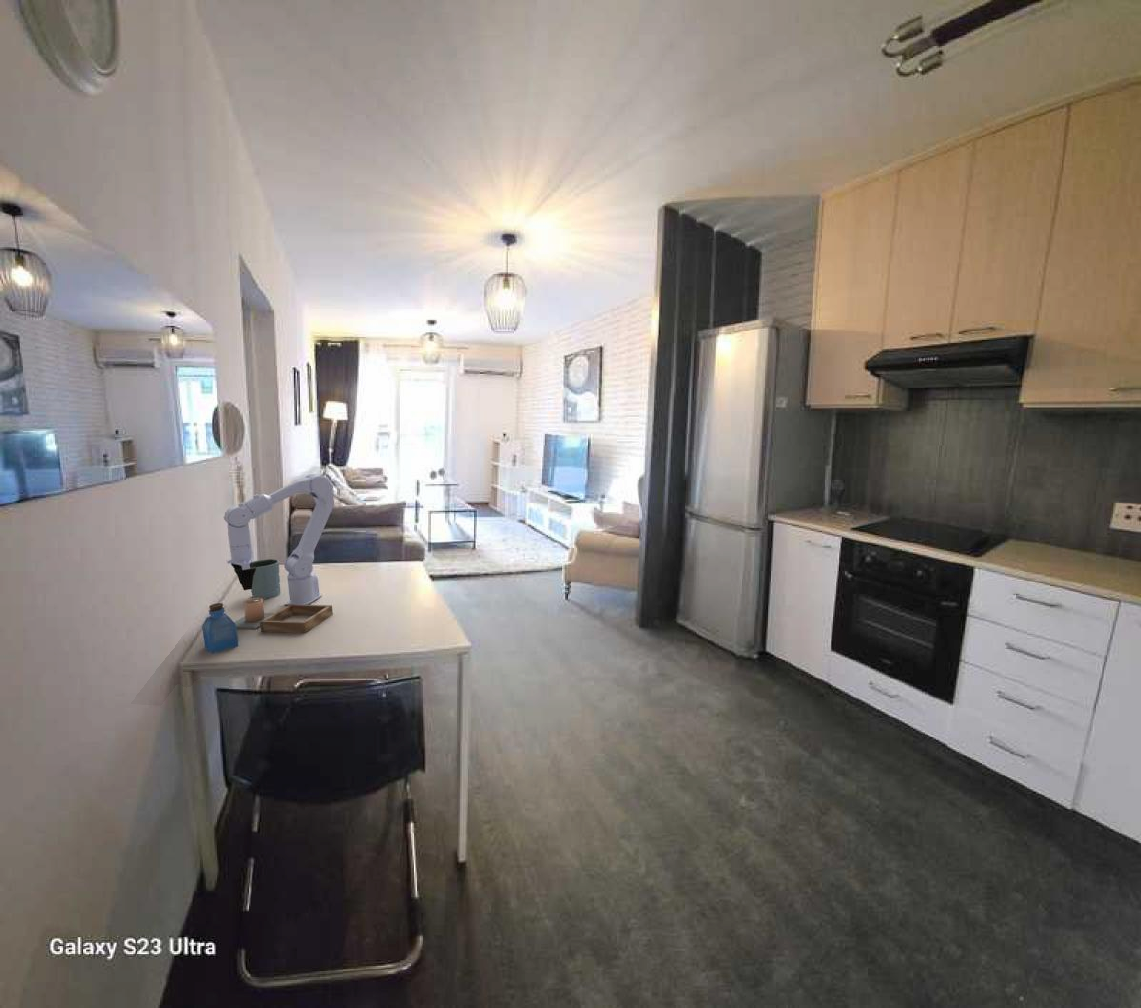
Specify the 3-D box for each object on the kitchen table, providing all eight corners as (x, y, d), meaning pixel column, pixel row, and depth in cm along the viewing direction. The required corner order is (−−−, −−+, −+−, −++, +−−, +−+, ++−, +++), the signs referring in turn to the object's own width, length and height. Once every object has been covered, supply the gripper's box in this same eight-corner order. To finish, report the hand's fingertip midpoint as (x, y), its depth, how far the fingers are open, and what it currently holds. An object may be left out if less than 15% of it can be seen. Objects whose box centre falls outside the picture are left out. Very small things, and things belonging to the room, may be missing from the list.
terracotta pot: (253, 615, 157) (252, 597, 156) (268, 616, 156) (266, 598, 155) (241, 621, 152) (239, 602, 151) (255, 622, 151) (254, 603, 151)
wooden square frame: (291, 613, 160) (290, 604, 160) (332, 614, 159) (331, 605, 158) (260, 631, 147) (259, 621, 146) (305, 632, 145) (304, 623, 145)
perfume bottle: (231, 639, 142) (225, 599, 139) (238, 645, 138) (233, 604, 136) (205, 647, 137) (198, 605, 135) (212, 653, 133) (206, 611, 131)
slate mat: (252, 613, 160) (252, 612, 160) (281, 614, 159) (281, 613, 159) (225, 628, 149) (225, 626, 149) (256, 629, 148) (256, 627, 148)
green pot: (288, 590, 181) (285, 559, 179) (269, 600, 172) (265, 567, 169) (262, 590, 182) (259, 558, 180) (242, 600, 173) (238, 566, 170)
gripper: (222, 542, 159) (228, 583, 161) (227, 551, 148) (233, 595, 150) (248, 539, 163) (253, 578, 165) (255, 547, 152) (260, 590, 154)
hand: (246, 586), depth 158 cm, fingers open, 7 cm apart
